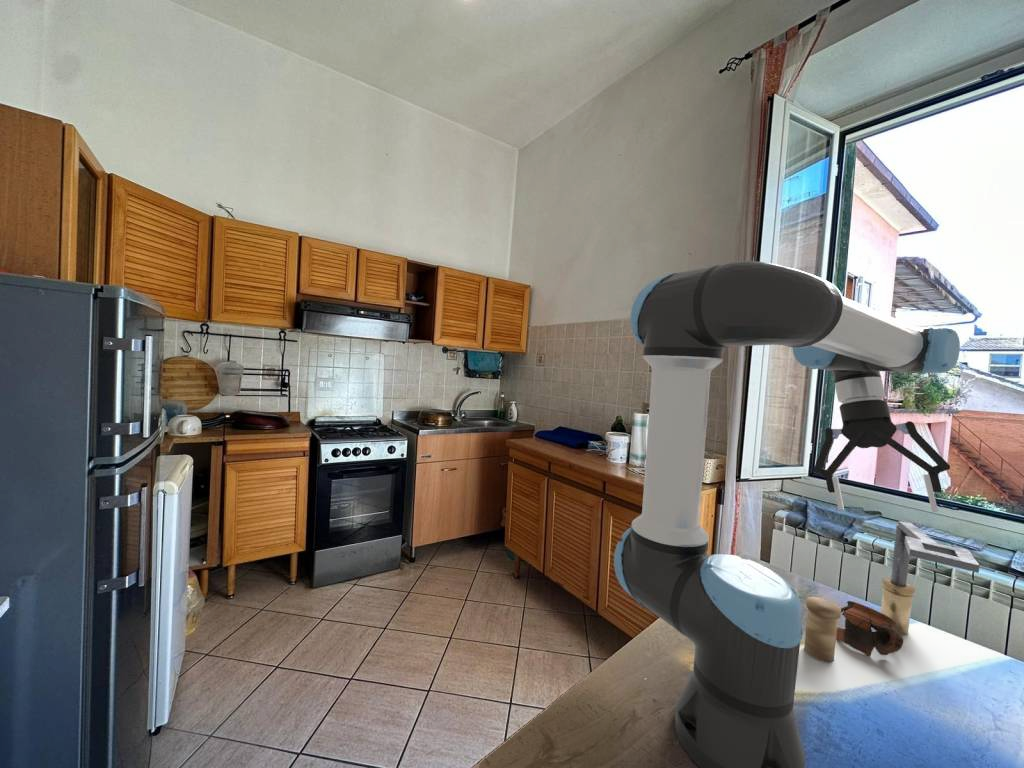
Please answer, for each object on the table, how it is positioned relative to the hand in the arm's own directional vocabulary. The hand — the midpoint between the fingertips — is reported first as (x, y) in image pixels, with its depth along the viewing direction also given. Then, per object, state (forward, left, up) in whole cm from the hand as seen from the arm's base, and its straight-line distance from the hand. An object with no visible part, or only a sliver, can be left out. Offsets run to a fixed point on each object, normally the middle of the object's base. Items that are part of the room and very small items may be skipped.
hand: (885, 510), depth 81 cm
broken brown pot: (0, -3, -26) cm, 26 cm away
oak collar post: (-8, -13, -26) cm, 30 cm away
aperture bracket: (+6, +1, -26) cm, 26 cm away
